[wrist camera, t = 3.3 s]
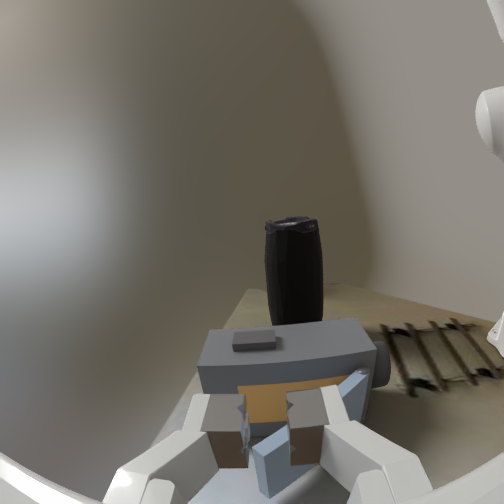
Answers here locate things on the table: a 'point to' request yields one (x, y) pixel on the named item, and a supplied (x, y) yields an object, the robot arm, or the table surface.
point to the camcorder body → (288, 364)
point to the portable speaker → (294, 271)
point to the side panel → (277, 445)
